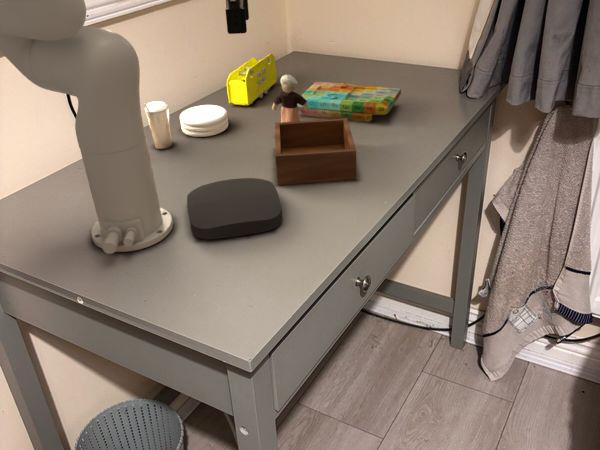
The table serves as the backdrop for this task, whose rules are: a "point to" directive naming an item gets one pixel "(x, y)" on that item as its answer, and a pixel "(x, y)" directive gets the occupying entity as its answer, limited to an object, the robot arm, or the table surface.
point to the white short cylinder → (204, 120)
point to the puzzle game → (348, 101)
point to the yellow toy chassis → (251, 80)
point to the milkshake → (159, 123)
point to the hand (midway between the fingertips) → (238, 26)
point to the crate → (314, 151)
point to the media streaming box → (234, 208)
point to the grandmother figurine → (289, 100)
